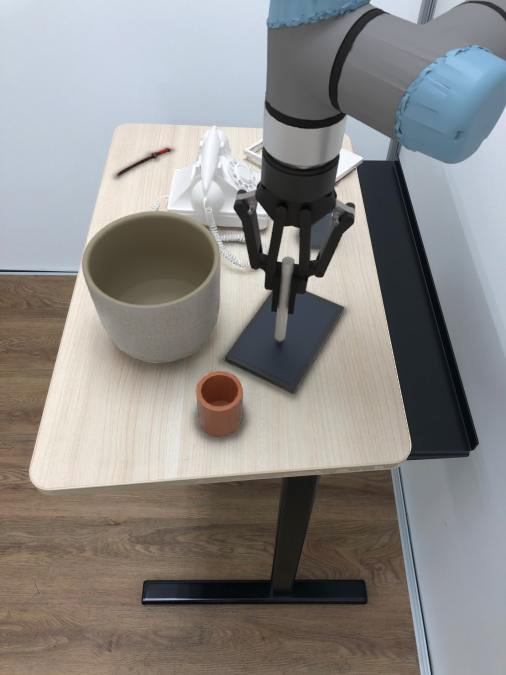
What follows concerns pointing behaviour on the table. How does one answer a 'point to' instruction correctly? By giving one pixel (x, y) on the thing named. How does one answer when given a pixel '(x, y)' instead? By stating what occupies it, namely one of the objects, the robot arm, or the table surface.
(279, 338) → the stylus
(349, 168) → the photo frame
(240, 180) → the telephone
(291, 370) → the tablet
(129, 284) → the planter
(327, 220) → the holder
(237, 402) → the cup
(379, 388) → the table surface
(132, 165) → the katana
